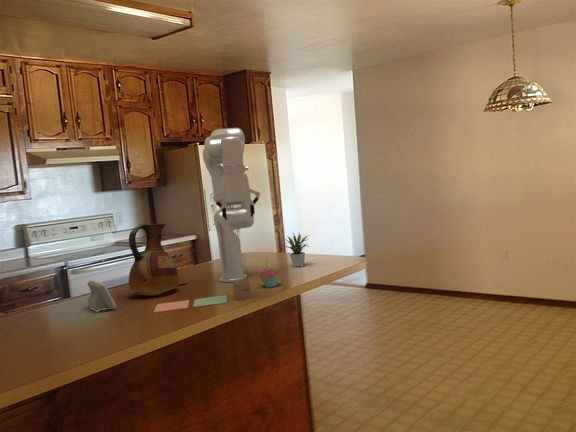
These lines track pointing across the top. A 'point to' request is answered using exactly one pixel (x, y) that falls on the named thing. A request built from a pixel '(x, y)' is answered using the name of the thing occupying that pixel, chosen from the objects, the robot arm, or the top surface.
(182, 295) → the top surface
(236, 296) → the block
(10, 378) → the top surface
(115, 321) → the top surface
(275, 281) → the cupcake
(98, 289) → the digital clock
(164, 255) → the ceramic pitcher
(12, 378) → the top surface
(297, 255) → the house plant
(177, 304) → the mat
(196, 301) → the mat
